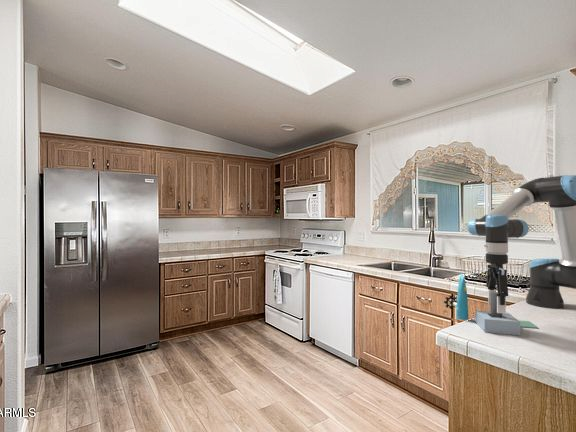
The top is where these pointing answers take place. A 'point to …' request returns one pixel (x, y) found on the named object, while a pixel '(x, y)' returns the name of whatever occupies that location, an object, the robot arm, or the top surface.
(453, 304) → the valve
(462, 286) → the tube
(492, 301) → the plug
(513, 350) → the top surface
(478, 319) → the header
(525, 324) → the pad
